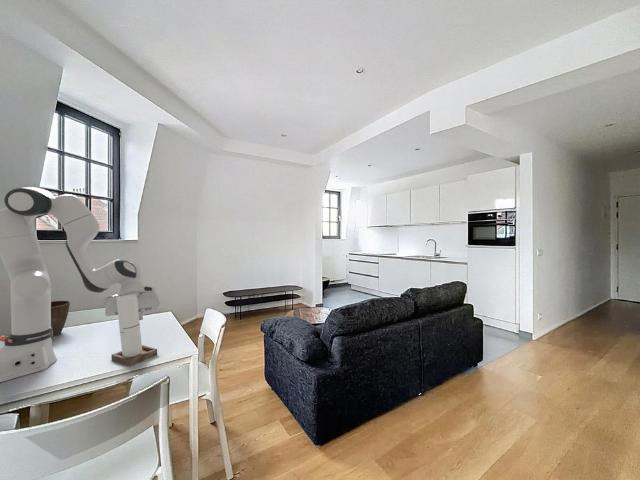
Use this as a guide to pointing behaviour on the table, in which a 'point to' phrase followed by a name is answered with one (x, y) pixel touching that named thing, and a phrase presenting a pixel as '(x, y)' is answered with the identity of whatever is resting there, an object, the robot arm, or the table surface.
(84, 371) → the table surface
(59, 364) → the table surface
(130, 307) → the cylindrical container
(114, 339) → the table surface
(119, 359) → the wooden serving tray
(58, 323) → the plant pot
